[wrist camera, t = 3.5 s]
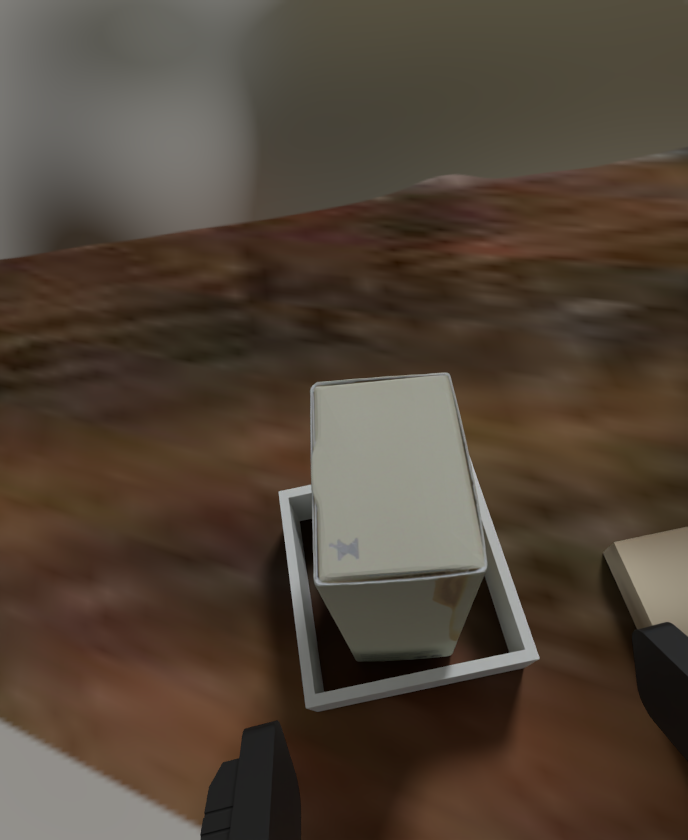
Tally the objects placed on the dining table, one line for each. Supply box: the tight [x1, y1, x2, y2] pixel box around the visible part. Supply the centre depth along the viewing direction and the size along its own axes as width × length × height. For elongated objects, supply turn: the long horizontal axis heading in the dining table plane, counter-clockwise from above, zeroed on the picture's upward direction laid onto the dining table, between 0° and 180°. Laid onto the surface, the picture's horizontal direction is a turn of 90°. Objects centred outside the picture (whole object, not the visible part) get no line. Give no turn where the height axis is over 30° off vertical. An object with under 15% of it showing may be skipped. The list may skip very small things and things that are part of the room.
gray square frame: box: [279, 456, 540, 712], centre depth 23 cm, size 9×9×3 cm
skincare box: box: [310, 373, 488, 662], centre depth 19 cm, size 6×4×12 cm
